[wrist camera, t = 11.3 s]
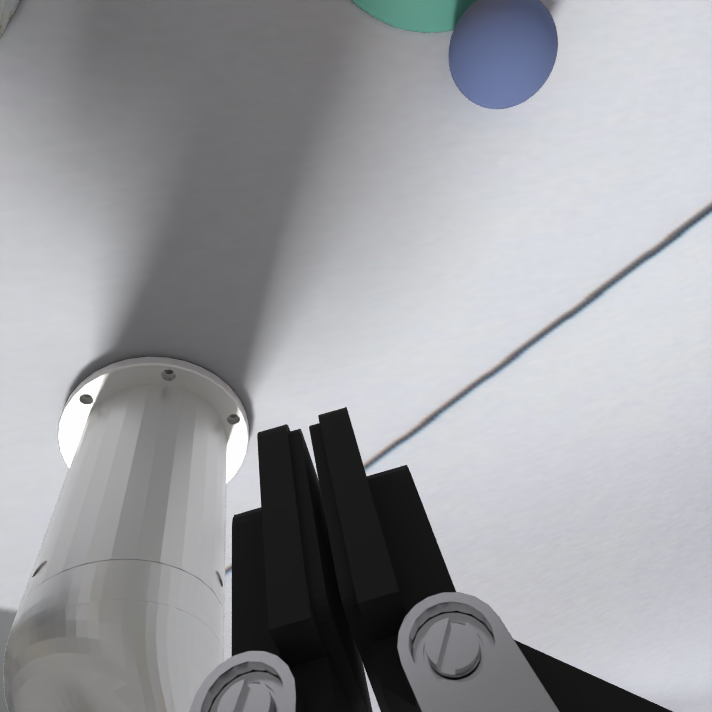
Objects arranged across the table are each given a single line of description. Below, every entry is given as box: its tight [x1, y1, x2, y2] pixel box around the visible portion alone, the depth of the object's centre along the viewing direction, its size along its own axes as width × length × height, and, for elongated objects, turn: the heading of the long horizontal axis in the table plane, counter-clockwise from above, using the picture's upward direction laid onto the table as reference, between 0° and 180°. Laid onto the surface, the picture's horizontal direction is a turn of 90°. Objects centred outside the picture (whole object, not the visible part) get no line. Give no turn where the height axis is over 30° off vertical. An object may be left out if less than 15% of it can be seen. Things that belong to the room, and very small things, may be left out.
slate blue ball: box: [449, 0, 558, 109], centre depth 31 cm, size 6×6×6 cm
